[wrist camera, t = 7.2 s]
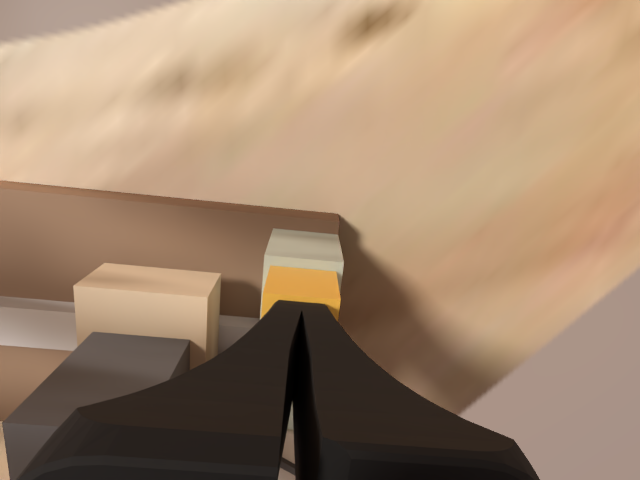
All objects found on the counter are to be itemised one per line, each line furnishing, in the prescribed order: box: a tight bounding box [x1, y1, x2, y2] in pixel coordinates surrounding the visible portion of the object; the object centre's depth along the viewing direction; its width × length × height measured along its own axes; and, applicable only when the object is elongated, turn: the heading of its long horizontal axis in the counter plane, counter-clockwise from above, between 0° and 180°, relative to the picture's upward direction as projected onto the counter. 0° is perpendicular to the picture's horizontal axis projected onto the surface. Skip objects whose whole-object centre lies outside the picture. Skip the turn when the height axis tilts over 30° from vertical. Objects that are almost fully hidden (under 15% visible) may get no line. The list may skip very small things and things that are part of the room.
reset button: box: [261, 265, 341, 321], centre depth 12 cm, size 2×2×2 cm
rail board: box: [0, 181, 344, 480], centre depth 15 cm, size 10×20×5 cm, turn 84°
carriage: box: [2, 263, 221, 480], centre depth 13 cm, size 6×4×6 cm, turn 174°
